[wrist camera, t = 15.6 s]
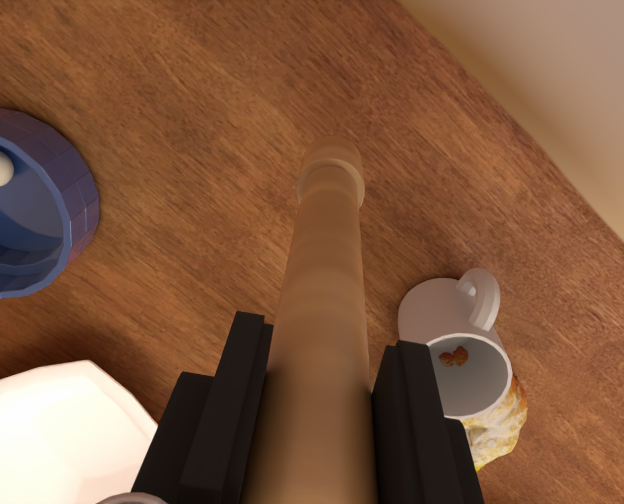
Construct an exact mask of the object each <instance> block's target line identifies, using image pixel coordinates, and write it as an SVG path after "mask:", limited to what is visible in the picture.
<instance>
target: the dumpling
mask: <svg viewBox="0 0 624 504" xmlns="http://www.w3.org/2000/svg"><path fill="white" fill-rule="evenodd" d="M13 173H14V167H13V163H12V161H11V159H10V158H9V157H8V156H7V155H6V154H4V153H3V152H1V151H0V186H3V185H5V184H6V183H8V182H9V181H10V180H11V178H12V176H13Z"/></svg>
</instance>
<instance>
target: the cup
mask: <svg viewBox="0 0 624 504" xmlns="http://www.w3.org/2000/svg"><path fill="white" fill-rule="evenodd" d="M499 305H500V289H499V285H498V282H497V281H496V279H495V277H494V276H493V275H492V274H491V273H490V272H489V271H488V270H487V269H485V268H471V269H470V270H468V271H467V272H466V273H465V274H464V275H463V276H462V277H461V279H460V280H455V279H451V278H436V279H431V280H427V281H425V282H422V283H420V284H418V285H416V286H415V287H414V288H413V289H411V290H410V291H409V292H408V293H407V294H406V296H405V297H404V298H403V300H402V302H401V304H400V307H399V309H398V329H399V336H400V340H404V341H410V342H415V343H421V344H426V345H428V347H429V350H430V354H431V359H432V363H433V368H434V372H435V377H436V381H437V386H438V390H439V394H440V399H441V403H442V408H443V412H444V417H447V418H452V419H459V420H460V419H466V418H473V417H476V416H478V415H481V414H484V413H486V412H488V411H489V410H491V409H492V408H494V407H495V406H497V405H498V403H499V402H500V401H501V400H502V399H503V398H504V397H505V396H506V394H507V392H508V390H509V388H510V386H511V380H512V368H511V363H510V361H509V358H508V356H507V354H506V352H505V350H504V347H503V345H502V343H501V341H500V339H499V336H498V334H497V332H496V330H495V328H494V325H493V323H494V321H495V318H496V316H497V314H498V309H499ZM458 346H462V347H463V348H464V349H465V350H467V352H468V360H467V361H466V362H465V363H464V364H463V365H462V366H457V365H456V364H454V365H453V366H451V367H445V366H444V365H443V364H442V363H441V362H440V360H439V358H438V356H439V355H441V353H444V352H447V353H451V355H453V354H454V353H453V351H455V350H456V348H457V347H458Z"/></svg>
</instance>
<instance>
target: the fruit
mask: <svg viewBox="0 0 624 504" xmlns="http://www.w3.org/2000/svg"><path fill="white" fill-rule="evenodd" d="M453 353H454V354H453V355H451V353H447V352H444V353H441V355H439V356H438V358H439V360H440V362H441V363H442V364H443V365H444V366H445V367H451V366H453V365H454V364H456V365H457V366H462V365H463V364H464V363H465V362H466V361H467V360H468V352H467V350H465V349H464V348H463V347H462V346H458V347H457V348H456V350H455V351H453ZM527 409H528V407H527V401H526V395H525V392H524V389H523V387H522V386H521V384H520V382H519V380H518V379H517V377H516V376H515V375H514V374H512V380H511V386H510V388H509V390H508V392H507V394H506V396H505V397H504V398H503V399H502V400H501V401H500V402H499V403H498V405H497V406H495V407H494V408H492V409H491V410H489V411H488V412H486V413H484V414H481V415H478V416H476V417H473V418H466V419H460V421H461V422H462V423H463V426H464V428H465V431H466V435H467V439H468V443H469V447H470V450H471V454H472V458H473V462H474V465H475V469H476V471H479V469H480V468H481V467H483V466H484V465H485V464H487V463H488V462H490V461H492V460H494V459H495V458H497V457H499V456H502V455H504V454H507V453H509V452H511V451H512V450H513V448H514V446H515V445H516V443H517V440H518V438H519V429H520V428H521V427H522V425H523V424H524V422H525V421H526V417H527ZM458 420H459V419H458Z"/></svg>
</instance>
